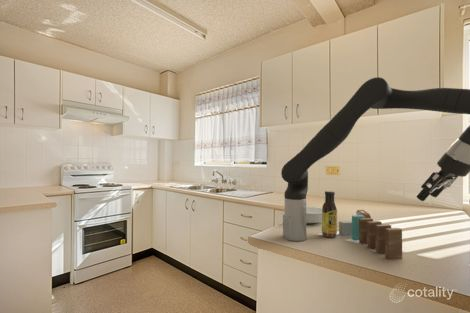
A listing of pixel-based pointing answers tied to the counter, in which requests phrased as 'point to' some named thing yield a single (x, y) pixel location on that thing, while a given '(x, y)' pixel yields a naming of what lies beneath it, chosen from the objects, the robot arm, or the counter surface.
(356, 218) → the domino
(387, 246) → the domino
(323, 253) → the counter surface
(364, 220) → the domino
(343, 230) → the block
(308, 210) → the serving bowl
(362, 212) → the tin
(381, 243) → the domino
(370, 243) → the domino
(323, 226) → the sauce bottle
